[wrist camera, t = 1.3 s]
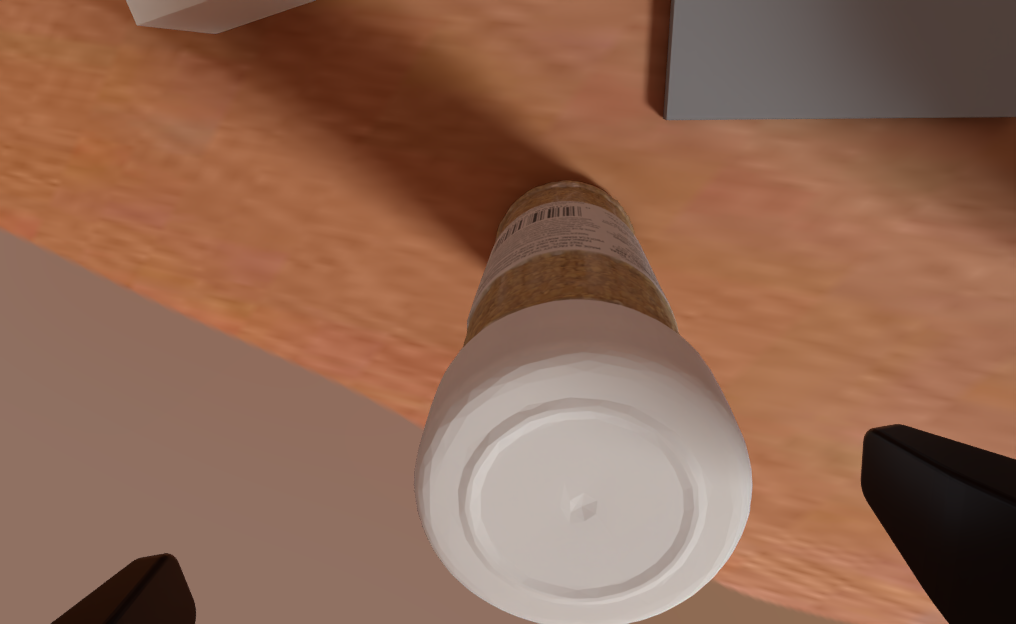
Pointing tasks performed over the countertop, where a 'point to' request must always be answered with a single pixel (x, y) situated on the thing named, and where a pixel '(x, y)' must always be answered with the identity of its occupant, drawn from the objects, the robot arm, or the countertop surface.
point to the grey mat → (840, 59)
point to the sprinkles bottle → (579, 429)
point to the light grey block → (206, 13)
